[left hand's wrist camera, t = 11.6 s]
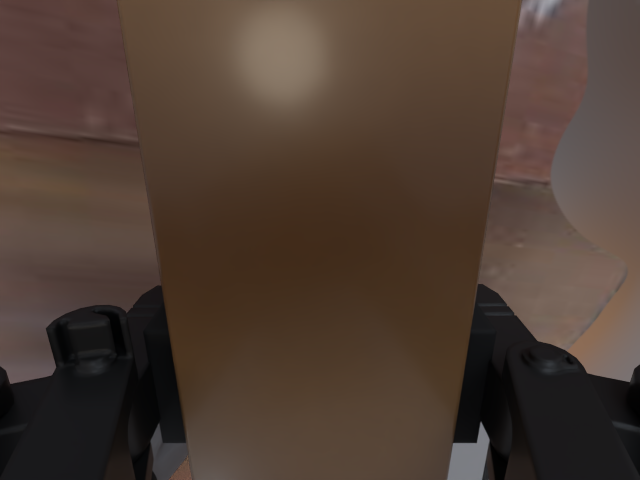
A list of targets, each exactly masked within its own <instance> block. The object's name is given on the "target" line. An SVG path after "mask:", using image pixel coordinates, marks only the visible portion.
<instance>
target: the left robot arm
mask: <svg viewBox="0 0 640 480" xmlns="http://www.w3.org/2000/svg"><path fill="white" fill-rule="evenodd" d="M46 331H47V334H48V338H49V342H50V345H51V349H52V353H53V356H54V360H55V364H56V369H55V371H54V373H53V375H52V376H48V377H44V378H39V379H34V380H29V381H24V382H19V383H14V384H10V382H9V379H8V376H7V373H6V371H5V370H4V369H3V368H2V367H0V480H169V478H170V477H171V476H172V475H173V473H174V472H175V471H176V470H177V469H178V467H179V466H180V465H181V464H182V462H183V461H184V460H185V458H186V457H187V455H188V451H187V445H186V438H185V432H184V426H183V419H182V413H181V407H180V400H179V394H178V387H177V381H176V375H175V368H174V362H173V356H172V349H171V343H170V336H169V330H168V324H167V317H166V311H165V305H164V298H163V292H162V286H156V287H154V288H153V289H151V290H149V291H148V292H146V293H145V294H143V295H142V296H141V297H140V298H139V299H138V301H137V302H136V303H135V304H134V305H133V308H131V309H130V310H129V311H128V313H127V314H126V311H124V310H123V309H122V308H120V307H117V306H112V305H95V306H90V307H85V308H80V309H78V310H75V311H72V312H69V313H66V314H64V315H63V316H61V317H59V318H57V319H56V320H54V321H53V322H52V323H51V324H50V325H49V326H48V327H47V328H46ZM481 422H482V425H483V427H484V429H485V431H486V433H487V435H488V437H489V439H490V440H489V445H488V450H487V455H486V461H485V466H484V471H483V476H482V480H640V365H639V366H637V367H636V368H635V369H634V372H633V375H632V378H631V381H630V382H626V381H621V380H616V379H611V378H606V377H601V376H596V375H592V374H588V373H587V372H586V370H585V368H584V367H583V365H582V364H581V363H580V362H579V361H578V359H577V358H576V357H574V356H573V355H571V354H570V353H568V352H567V351H565V350H563V349H561V348H558V347H556V346H554V345H551V344H547V343H543V342H539V341H537V340H536V339H535V338H534V336H533V335H532V334H531V333H530V332H529V330H528V329H527V328H526V327H525V326H524V324H523V323H522V322H521V321H520V320H519V318H518V317H517V316H514V312H513V311H512V310H511V309H510V308H509V306H507V304H506V303H505V302H504V300H503V299H502V298H501V297H500V296H499V294H498V293H496V292H495V291H493V290H491V289H490V288H488V287H486V286H485V285H483V284H478V286H477V293H476V299H475V306H474V312H473V318H472V325H471V331H470V338H469V344H468V351H467V357H466V364H465V370H464V376H463V383H462V389H461V396H460V402H459V409H458V415H457V421H456V428H455V434H454V441H453V443H477V440H478V435H479V429H480V423H481Z"/></svg>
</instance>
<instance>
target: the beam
mask: <svg viewBox="0 0 640 480" xmlns="http://www.w3.org/2000/svg"><path fill="white" fill-rule="evenodd" d="M521 3H522V0H117V5H118V12H119V18H120V24H121V31H122V37H123V43H124V50H125V56H126V63H127V69H128V75H129V82H130V88H131V94H132V101H133V107H134V114H135V120H136V126H137V133H138V139H139V145H140V152H141V158H142V164H143V171H144V177H145V184H146V190H147V196H148V203H149V209H150V215H151V222H152V228H153V235H154V241H155V247H156V254H157V260H158V266H159V273H160V279H161V285H162V292H163V298H164V305H165V311H166V317H167V324H168V330H169V336H170V343H171V349H172V356H173V362H174V368H175V375H176V381H177V387H178V394H179V400H180V407H181V413H182V419H183V426H184V432H185V438H186V445H187V451H188V457H189V464H190V470H191V477H192V480H447V479H448V473H449V466H450V460H451V454H452V447H453V441H454V434H455V428H456V421H457V415H458V409H459V402H460V396H461V389H462V383H463V376H464V370H465V364H466V357H467V351H468V344H469V338H470V331H471V325H472V318H473V312H474V306H475V299H476V293H477V286H478V280H479V273H480V267H481V261H482V254H483V248H484V241H485V235H486V228H487V222H488V216H489V209H490V203H491V196H492V190H493V183H494V177H495V171H496V164H497V158H498V151H499V145H500V138H501V132H502V126H503V119H504V113H505V106H506V100H507V93H508V87H509V81H510V74H511V68H512V61H513V55H514V48H515V42H516V36H517V29H518V23H519V16H520V10H521Z"/></svg>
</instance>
